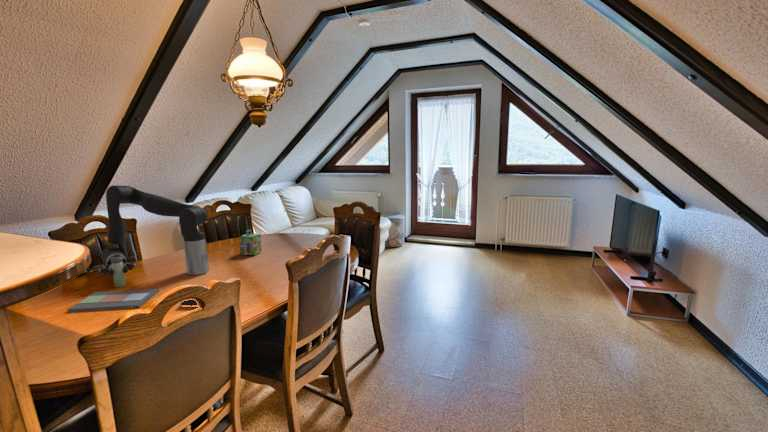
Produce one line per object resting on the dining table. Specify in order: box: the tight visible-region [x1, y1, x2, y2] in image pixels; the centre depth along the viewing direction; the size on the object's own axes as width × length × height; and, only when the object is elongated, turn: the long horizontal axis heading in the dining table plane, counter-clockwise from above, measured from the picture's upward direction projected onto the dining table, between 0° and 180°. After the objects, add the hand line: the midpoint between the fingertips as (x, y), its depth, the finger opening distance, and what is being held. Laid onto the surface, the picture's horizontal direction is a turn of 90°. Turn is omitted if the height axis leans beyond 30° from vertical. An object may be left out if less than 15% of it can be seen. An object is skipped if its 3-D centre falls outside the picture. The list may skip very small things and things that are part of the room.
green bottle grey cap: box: [111, 256, 127, 288], centre depth 150 cm, size 4×4×13 cm
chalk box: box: [238, 228, 262, 256], centre depth 201 cm, size 9×9×15 cm
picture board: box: [67, 288, 160, 313], centre depth 135 cm, size 24×16×1 cm, turn 101°
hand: (118, 272), depth 148 cm, fingers closed on green bottle grey cap, 4 cm apart
